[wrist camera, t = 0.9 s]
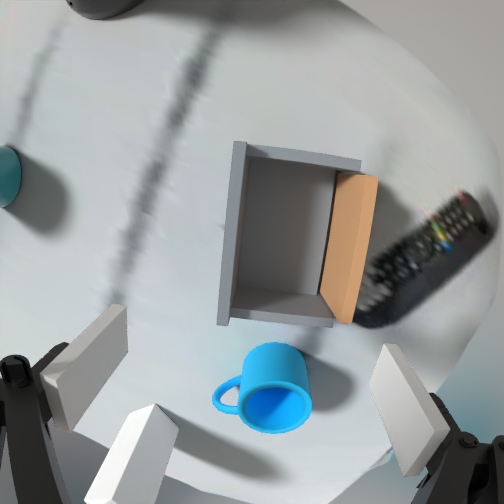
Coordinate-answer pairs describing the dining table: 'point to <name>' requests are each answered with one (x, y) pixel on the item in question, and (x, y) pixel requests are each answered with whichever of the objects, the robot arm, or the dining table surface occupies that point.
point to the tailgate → (348, 243)
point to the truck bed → (277, 234)
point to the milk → (136, 460)
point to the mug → (270, 389)
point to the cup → (9, 175)
